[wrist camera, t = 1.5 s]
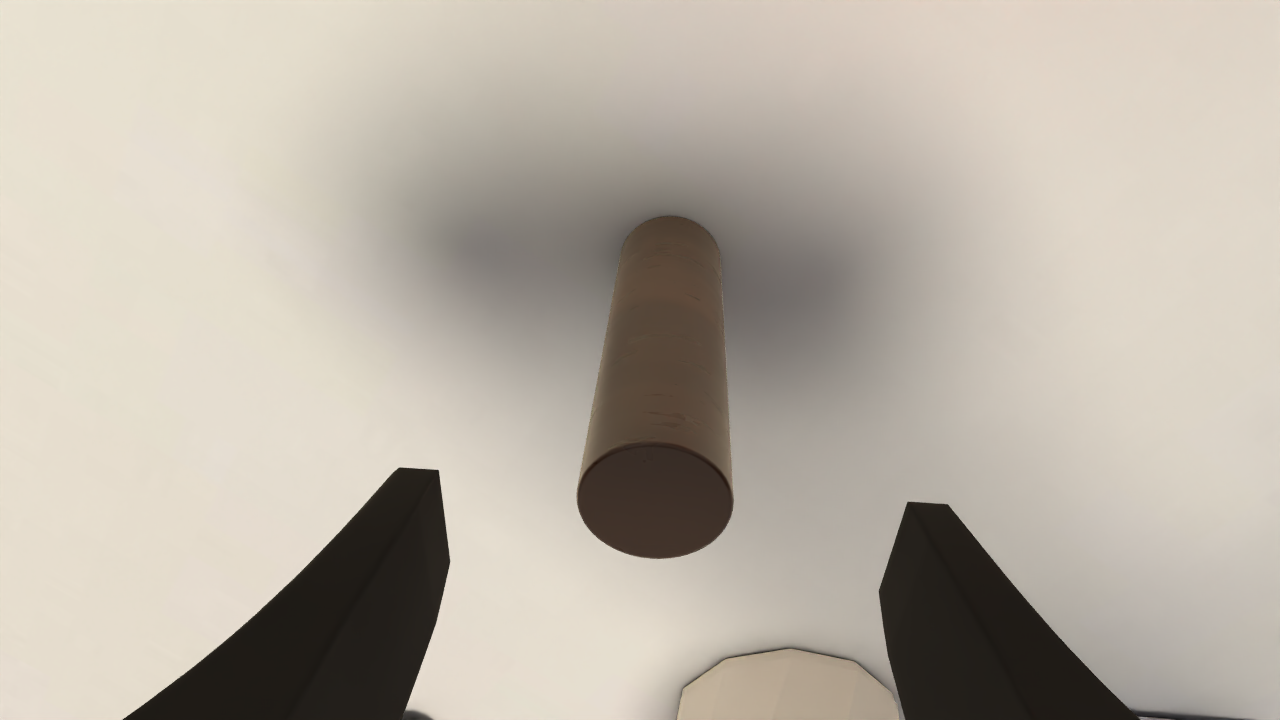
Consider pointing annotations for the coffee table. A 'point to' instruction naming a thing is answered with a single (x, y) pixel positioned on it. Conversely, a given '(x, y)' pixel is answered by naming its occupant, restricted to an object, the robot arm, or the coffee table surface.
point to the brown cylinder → (661, 400)
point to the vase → (787, 690)
